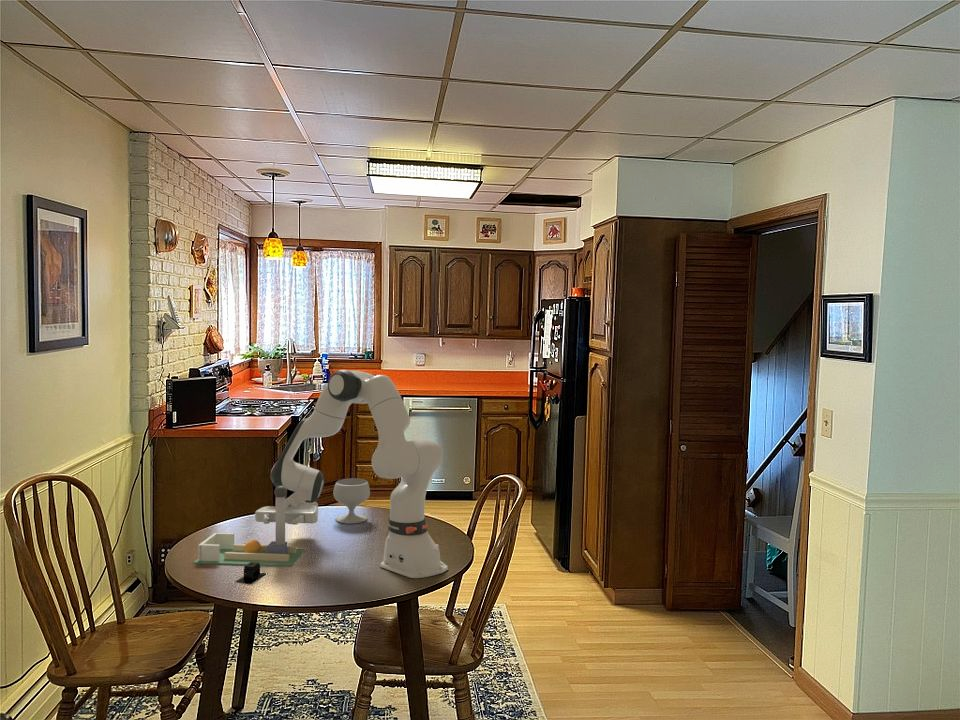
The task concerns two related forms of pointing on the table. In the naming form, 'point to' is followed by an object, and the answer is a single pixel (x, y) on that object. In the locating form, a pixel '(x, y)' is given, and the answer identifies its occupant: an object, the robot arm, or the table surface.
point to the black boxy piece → (251, 573)
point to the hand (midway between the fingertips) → (280, 521)
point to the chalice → (351, 498)
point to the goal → (217, 541)
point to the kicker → (279, 523)
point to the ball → (252, 546)
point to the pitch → (292, 559)
